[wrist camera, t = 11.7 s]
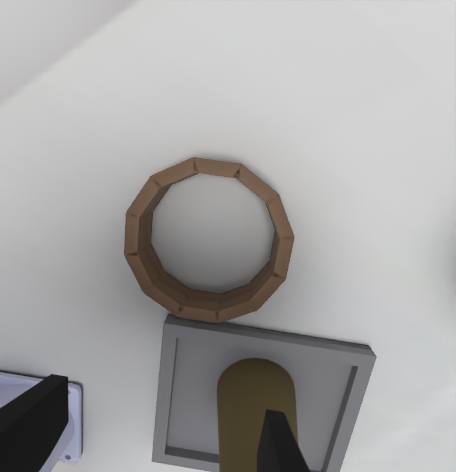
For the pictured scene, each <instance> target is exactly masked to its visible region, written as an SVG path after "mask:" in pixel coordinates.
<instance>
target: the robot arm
mask: <svg viewBox="0 0 456 472" xmlns="http://www.w3.org/2000/svg"><path fill="white" fill-rule="evenodd" d="M81 409H82V390H81V388H80V386H78V385H76V384H70V383H68V377H65V376H59V375H53V374H51V375H50V376H48V377H47V378H45V379H39V378H33V377H27V376H21V375H15V374H9V373H2V372H0V472H51V470H52V469H53V467H54V466H55V464H56V463H57V461H58V460H64V461H70V462H78V461H79V459H80V458H81ZM257 472H311V471H310V469H309V467H308V465H307V463H306V461H305V459H304V457H303V455H302V452H301V450H300V448H299V446H298V444H297V441H296V439H295V437H294V434H293V432H292V429H291V427H290V425H289V422H288V419H287V417H286V415H285V413H284V412H280V411H274V410H268V409H266V413H265V418H264V422H263V427H262V432H261V436H260V441H259V446H258V450H257Z"/></svg>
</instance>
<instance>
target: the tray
mask: <svg viewBox="0 0 456 472" xmlns="http://www.w3.org/2000/svg"><path fill="white" fill-rule="evenodd" d="M249 358H261V359H268V360H270V361H272V362H275V363H277V364H279V365H280V366H281V367H283V368H284V369H285V370H286V371H287V372H288V373H289V375H290V376H291V378H292V380H293V381H294V387H295V394H296V411H297V429H298V446H299V448H300V450H301V452H302V455H303V457H304V459H305V461H306V463H307V465H308V467H309V469H310V471H311V472H340V469H341V466H342V463H343V460H344V457H345V453H346V450H347V447H348V444H349V441H350V438H351V435H352V432H353V429H354V425H355V422H356V419H357V416H358V413H359V410H360V407H361V404H362V401H363V397H364V394H365V391H366V388H367V385H368V382H369V379H370V376H371V372H372V369H373V366H374V363H375V360H376V355H375V354H374V352H373V351H372V349H371V348H370V346H368V345H361V344H355V343H348V342H342V341H336V340H329V339H323V338H316V337H310V336H303V335H297V334H291V333H284V332H278V331H271V330H265V329H259V328H252V327H246V326H239V325H233V324H226V323H219V322H218V323H214V322H207V321H201V320H194V319H188V318H182V317H178V316H175V315H169V314H168V316H167V318H166V320H165V322H164V326H163V338H162V349H161V361H160V372H159V384H158V395H157V406H156V418H155V429H154V441H153V452H152V462H157V463H163V464H169V465H175V466H181V467H187V468H193V469H199V470H204V471H210V472H220V470H219V442H218V415H217V384H218V380H219V378H220V376H221V374H222V373H223V371H224V370H225V369H226V368H228V367H229V366H230V365H231V364H233V363H235V362H237V361H240V360H242V359H249Z"/></svg>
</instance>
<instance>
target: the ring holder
mask: <svg viewBox="0 0 456 472" xmlns="http://www.w3.org/2000/svg"><path fill="white" fill-rule="evenodd" d="M198 173H203V174H210V175H217V176H224V177H231V178H236V179H237V180H238V181H240V182H241V183H242V184H244V185H245V186H246V187H247V188H249V189H250V190H251V191H252V192H254V193H255V194H256V195H257V196H259V197H260V198H261V199H262V200H264V201H265V203H266V205H267V208H268V211H269V213H270V216H271V219H272V221H273V224H274V227H275V235H274V240H273V246H272V251H271V256H270V261H269V262H268V263H267V264H266V265H265V266H264V268H263V269H262V270H261V271H260V272H259V273H258V274H257V276H256V277H255V278H254V279H253V280H252V281H251V282H250V284H247V285H244V286H242V287H239V288H236V289H233V290H230V291H227V292H224V293H222V294H217V293H210V292H204V291H197V290H191V289H188V288H187V287H186V286H184V285H183V284H182V283H180V282H179V281H177V280H176V279H175V278H173V277H172V276H171V275H169V274H168V273H166V272H165V271H164V269H163V267H162V265H161V263H160V261H159V259H158V257H157V255H156V253H155V251H154V249H153V247H152V244H151V231H152V216H153V210H154V209H155V207H156V206H157V205H158V203H159V202H160V200H161V199H162V198H163V196H164V195H165V193H166V192H167V190H168V189H169V188H170V186H171V185H172V184H175V183H177V182H179V181H182V180H184V179H186V178H189V177H191V176H193V175H196V174H198ZM293 242H294V235H293V232H292V229H291V226H290V224H289V221H288V218H287V215H286V213H285V210H284V207H283V204H282V202H281V199H280V196H279V194H278V193H277V192H276V191H274V190H273V189H272V188H271V187H269V186H268V185H267V184H266V183H264V182H263V181H262V180H261V179H260V178H258V177H257V176H256V175H255V174H253V173H252V172H251V171H250V170H248V169H247V168H246V167H245V166H243V165H241V164H238V163H231V162H224V161H216V160H209V159H202V158H195V157H194V158H191V159H188V160H186V161H184V162H182V163H179V164H177V165H175V166H172V167H170V168H168V169H165V170H163V171H161V172H159V173H156V174H154V175H152V176H150V178H149V179H148V181H147V182H146V184H145V185H144V187H143V188H142V190H141V191H140V193H139V194H138V196H137V197H136V198H135V200H134V201H133V203H132V204H131V206H130V207H129V209H128V210H127V213H126V225H125V248H124V255H125V258H126V260H127V262H128V264H129V266H130V267H131V269H132V271H133V273H134V275H135V277H136V279H137V281H138V283H139V285H140V287H141V289H142V291H143V292H144V293H145V294H146V295H147V296H149V297H150V298H152V299H153V300H154V301H156V302H157V303H159V304H160V305H161V306H163V307H164V308H166V309H167V310H169V311H170V312H171V313H173V314H174V315H176V316H178V317H182V318H188V319H194V320H201V321H207V322H214V323H218V322H219V323H221V322H224V321H227V320H230V319H233V318H236V317H239V316H242V315H245V314H248V313H251V312H254V311H257V309H259V308H260V307H261V306H262V305H263V304H264V303H265V302H266V301H267V299H268V298H269V297H270V296H271V295H272V294H273V293H274V292H275V291H276V290H277V289H278V287H279V286H280V285H281V284H282V283H283V282H284V281H285V279H286V276H287V271H288V266H289V261H290V256H291V252H292V247H293Z"/></svg>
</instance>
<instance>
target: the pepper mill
mask: <svg viewBox="0 0 456 472" xmlns="http://www.w3.org/2000/svg"><path fill="white" fill-rule="evenodd" d="M266 409H268V410H274V411H280V412H284V413H285V415H286V417H287V419H288V422H289V425H290V427H291V429H292V432H293V434H294V437H295V439H296V441H297V444H298V429H297V411H296V394H295V387H294V381H293V380H292V378H291V376H290V375H289V373H288V372H287V371H286V370H285V369H284V368H283V367H281V366H280V365H279V364H277V363H275V362H272V361H270V360H268V359H261V358H249V359H242V360H240V361H237V362H235V363H233V364H231V365H230V366H229V367H228V368H226V369H225V370H224V371H223V373H222V374H221V376H220V378H219V380H218V384H217V415H218V442H219V470H220V472H257V450H258V446H259V441H260V436H261V432H262V427H263V422H264V418H265V413H266Z"/></svg>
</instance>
